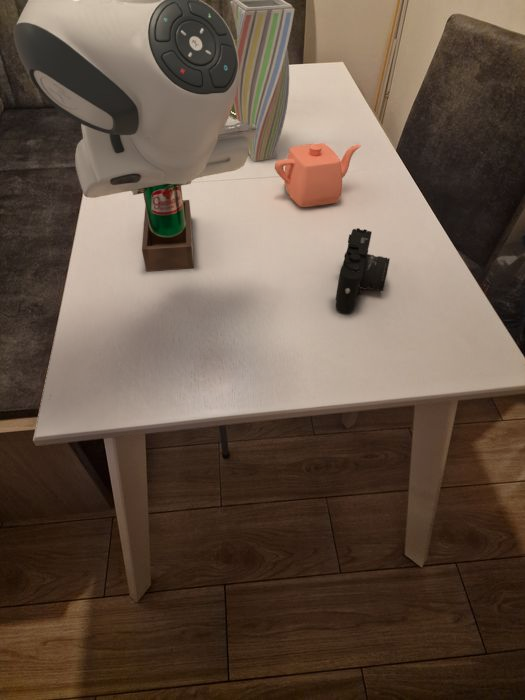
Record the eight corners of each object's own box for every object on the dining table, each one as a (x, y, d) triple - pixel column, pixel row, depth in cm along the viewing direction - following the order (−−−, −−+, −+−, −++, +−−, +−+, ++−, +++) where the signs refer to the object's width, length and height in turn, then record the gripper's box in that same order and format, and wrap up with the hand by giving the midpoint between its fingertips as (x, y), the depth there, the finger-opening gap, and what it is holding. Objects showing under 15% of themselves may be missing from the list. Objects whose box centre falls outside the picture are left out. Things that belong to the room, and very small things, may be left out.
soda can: (157, 242, 66) (141, 157, 58) (145, 225, 69) (129, 141, 61) (191, 233, 68) (181, 149, 59) (178, 216, 71) (167, 133, 62)
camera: (376, 323, 74) (386, 281, 68) (330, 314, 75) (336, 273, 70) (385, 269, 84) (395, 228, 78) (344, 262, 85) (351, 222, 79)
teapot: (265, 187, 104) (266, 138, 96) (343, 177, 107) (350, 129, 100) (282, 214, 96) (284, 163, 88) (365, 202, 100) (374, 152, 92)
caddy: (146, 271, 83) (141, 249, 80) (149, 223, 93) (145, 202, 90) (193, 268, 84) (191, 246, 80) (191, 220, 94) (189, 199, 91)
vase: (298, 163, 112) (308, 7, 90) (242, 172, 108) (239, 12, 87) (276, 140, 120) (281, -8, 99) (224, 147, 117) (217, -4, 96)
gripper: (253, 94, 54) (226, 147, 67) (64, 122, 48) (75, 174, 61) (269, 150, 54) (239, 192, 68) (83, 184, 48) (90, 222, 62)
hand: (160, 183), depth 64 cm, fingers closed on soda can, 5 cm apart
